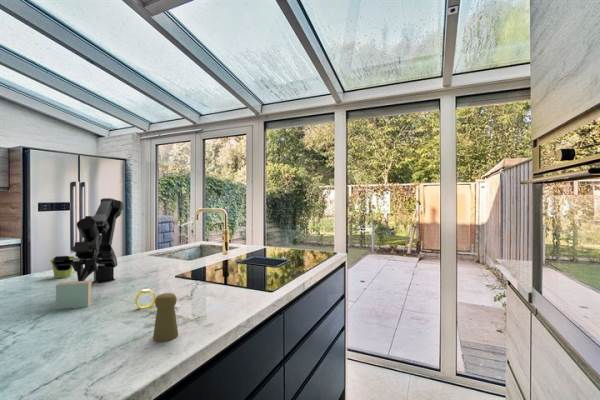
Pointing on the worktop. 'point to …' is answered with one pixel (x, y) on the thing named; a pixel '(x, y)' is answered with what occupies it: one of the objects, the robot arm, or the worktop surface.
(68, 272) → the plant pot
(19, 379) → the worktop surface
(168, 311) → the cork
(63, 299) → the tile
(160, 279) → the worktop surface
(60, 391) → the worktop surface
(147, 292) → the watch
